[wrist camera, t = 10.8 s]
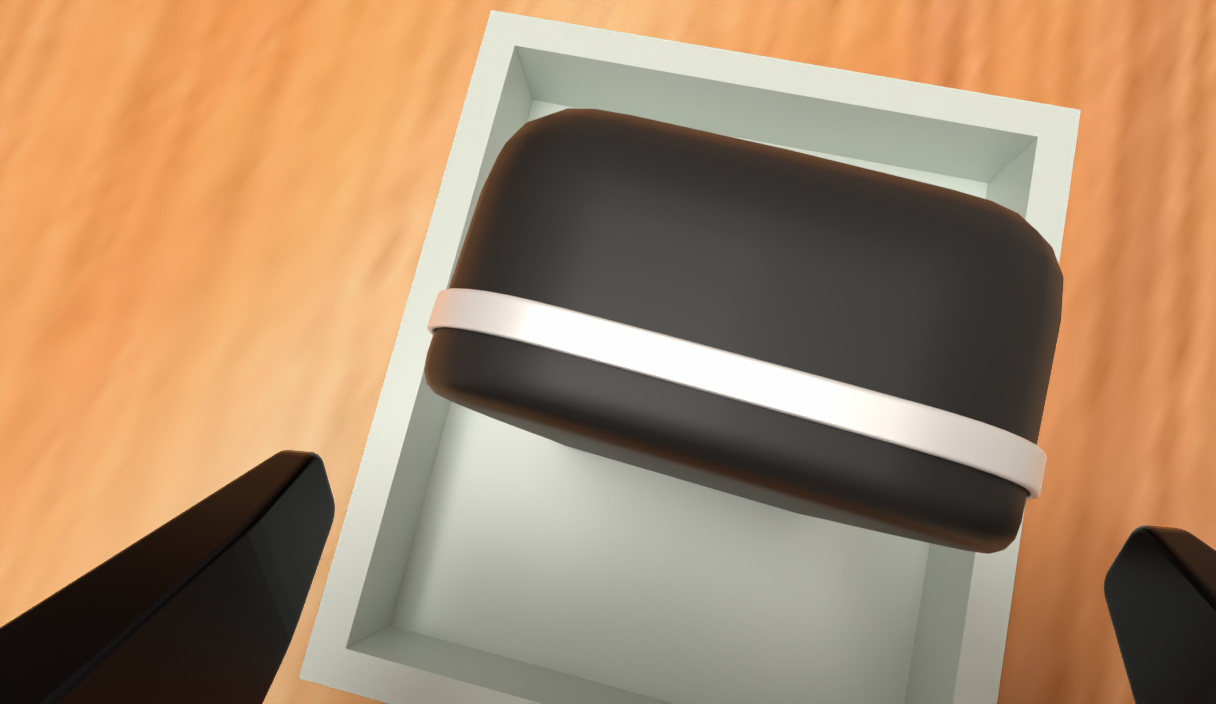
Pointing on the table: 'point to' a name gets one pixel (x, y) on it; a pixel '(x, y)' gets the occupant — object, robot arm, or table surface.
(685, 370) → the battery charger
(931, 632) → the tray
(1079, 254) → the table surface
